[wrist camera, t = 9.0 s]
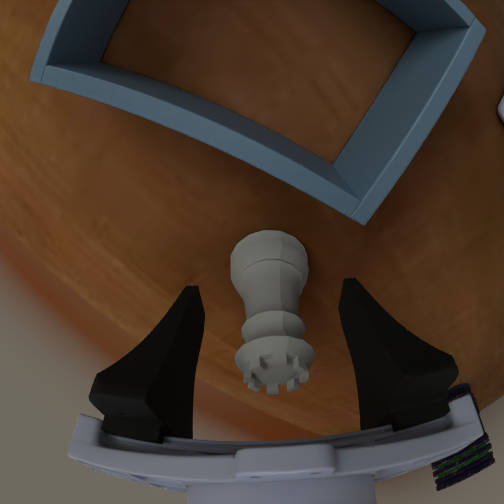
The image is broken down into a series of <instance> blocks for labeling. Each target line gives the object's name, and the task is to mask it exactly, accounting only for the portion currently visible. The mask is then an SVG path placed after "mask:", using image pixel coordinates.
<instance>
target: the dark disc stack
mask: <svg viewBox="0 0 504 504" xmlns="http://www.w3.org/2000/svg"><path fill="white" fill-rule="evenodd" d="M447 392H448V398H446V399H447V402H448V403H449V402H451V401H452V400H455V399H457V398H460V397H462V396H465V395H467V394H470V396H471V398H472V401H473V404H474V406H475V409H476V412H477V415H478V417H479V420H480V423H481V426H482V429H483V435H482V436H480V437H479V438H478V439H476V440H475V441H473V442H472V443H470V444H469V445H467V446H466V447H464V448H463V449H461V450H460V451H458V452H456V453H454V454H452V455H449V456H447V457H445V458H442V459H440V460H438V461H435V462H433V463H431V465H432V469H433V470H434V469H437V470H436V471H434V472H433V476H434V477H437V476H438V478H437V479H435V483H436V484H437V487H436V488H437V491H440V490H442V489H445V488H447V487H450V486H452V485H454V484H456V483H459V482H460V481H462V480H465V479H466V478H469V477H471V476H473V475H474V474H476V473H478V472H480V471H482V470H483V469H485V468H487V467H488V466H490V465H492V464H493V463H494V462H495V459H494V458H493V452H492V451H490V452H488V450H489V449H491V448H492V447H491V443H488V444H486V443H487V442H488V441H489V438H488V437H489V436H488V435H487V433H485V431H484V427H483V424H482V421H481V418H480V416H479V413H480V411H479V408H478V406H477V401H476V398H475V397H473V393H472V392H471V390H470V385H469V384H468V383H465V384H460V385H457V386H455V387H452V388H450V389H448V390H447Z"/></svg>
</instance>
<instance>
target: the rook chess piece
mask: <svg viewBox="0 0 504 504" xmlns="http://www.w3.org/2000/svg"><path fill="white" fill-rule="evenodd" d="M307 262H308V258H307V254H306V251H305V247H304V246H303V245H302V244H301V243H300V242H299V241H298V240H297V239H296V238H295V237H294V236H292V235H289V234H287V233H285V232H282V231H275V230H263V231H259V232H256V233H253V234H249V235H248V236H246V237H245V238H244V239H243V240H241V241H240V242H239V243H237V245H236V247H235V248H234V250H233V252H232V254H231V280H232V283H233V284H234V286H235V288H236V290H237V292H238V293H239V294H240V296H241V298H242V299H243V300H244V305H245V311H246V318H247V320H246V322H245V323H244V325H243V326H242V337H243V339H244V340H245V342H246V343H245V344H243V345H242V346H241V348H240V349H239V350H238V351H237V353H236V354H235V364H236V365H237V367H238V368H239V369H240V371H241V372H242V373H243V374H244V381H243V383H248V388H249V389H251V390H253V391H255V392H257V391H259V390H260V384H263V385H267V394H278V385H282V384H287V390H288V391H289V392H292V391H294V390H297V389H299V388H300V387H299V382H301V383H306V382H307V380H308V378H309V374H308V369H309V368H310V366H311V365H312V363H313V361H314V358H315V353H314V350H313V347H312V346H310V345H309V344H308V343H306V342H305V341H304V340H302V338H303V336H304V333H305V329H306V328H305V325H304V323H303V321H302V320H301V319H300V318H299V313H298V312H299V296H300V294H301V293H302V290H303V288H304V286H305V285H306V281H307V277H308V272H309V267H308V263H307Z"/></svg>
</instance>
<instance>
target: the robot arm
mask: <svg viewBox="0 0 504 504" xmlns="http://www.w3.org/2000/svg"><path fill="white" fill-rule="evenodd" d="M498 114H499V116H500V118H501V119H502V121H503V122H504V96H503V98H502V100H501V102H500V104H499V106H498ZM338 308H339V314H340V320H341V325H342V328H343V332H344V335H345V338H346V341H347V345H348V348H349V351H350V354H351V358H352V361H353V365H354V370H355V376H356V383H357V390H358V398H359V409H360V426H361V431H357V432H352V433H346V434H339V435H332V436H325V437H317V438H308V439H296V440H282V441H254V442H253V441H251V442H240V441H239V442H237V441H236V442H235V441H209V440H195V439H193V422H192V421H193V396H194V382H195V373H196V367H197V362H198V357H199V352H200V347H201V343H202V338H203V333H204V322H205V312H204V308H203V304H202V300H201V296H200V291H199V287H198V286H186V287H185V288H184V289H183V291H182V292H181V294H180V295H179V297H178V298H177V300H176V301H175V302H174V304H173V305H172V307H171V308H170V309H169V311H168V312H167V313H166V315H165V316H164V317H163V318H162V320H161V321H160V322H159V323H158V324H157V326H156V327H155V328H154V329H153V330H152V331H151V333H150V334H149V335H148V336H147V337H146V338H145V339H144V340H143V341H142V342H141V343H140V344H138V345H137V346H136V347H135V348H134V349H133V350H132V351H130V352H129V353H128V354H127V355H125V356H124V357H123V358H121V359H120V360H119V361H117V362H116V363H114V364H113V365H111V366H110V367H108V368H106V369H105V370H103V371H101V372H100V373H98V374H97V375H96V377H95V379H94V382H93V385H92V388H91V391H90V394H89V400H90V402H91V403H92V404H93V405H94V406H95V407H96V408H97V409H98V410H99V411H100V412H101V413H102V414H103V415H105V416H104V420H103V421H102V420H100V419H98V418H95V417H91V416H87V415H83V414H79V416H78V419H77V422H76V425H75V429H74V432H73V435H72V439H71V442H70V446H69V450H68V454H67V455H68V456H69V457H71V458H72V459H74V460H76V461H78V462H80V463H82V464H84V465H85V466H87V467H89V468H91V469H93V470H96V471H99V472H102V473H105V474H108V475H111V476H115V477H119V478H122V479H125V480H129V481H133V482H136V483H140V484H144V485H148V486H153V487H157V488H162V489H166V490H172V491H177V492H183V493H188V497H187V504H376V496H375V489H374V482H378V481H382V480H385V479H388V478H391V477H395V476H398V475H401V474H404V473H406V472H409V471H412V470H415V469H417V468H420V467H423V466H425V465H428V464H430V463H433V462H435V461H438V460H440V459H442V458H445V457H447V456H449V455H452V454H454V453H456V452H458V451H460V450H461V449H463V448H464V447H466V446H467V445H469V444H470V443H472V442H473V441H475V440H476V439H478V438H479V437H480V436H482V435H483V429H482V426H481V423H480V420H479V417H478V415H477V412H476V409H475V406H474V404H473V401H472V398H471V396H470V394H467V395H465V396H462V397H460V398H457V399H455V400H452V401H451V402H449V403H448V402H447V399H446V398H448V392H447V389H448V388H449V387H450V386H451V385H452V383H453V382H454V381H455V380H456V378H457V377H458V374H459V370H458V367H457V365H456V363H455V361H454V359H453V357H452V355H449V354H447V353H445V352H443V351H441V350H439V349H437V348H435V347H433V346H431V345H430V344H428V343H426V342H425V341H423V340H421V339H420V338H418V337H417V336H415V335H414V334H413V333H411V332H410V331H408V330H407V329H406V328H405V327H403V326H402V325H401V324H400V323H398V322H397V321H396V320H395V319H394V318H393V317H392V316H391V315H390V314H388V313H387V312H386V311H385V310H384V309H383V308H382V307H381V306H380V304H379V303H378V302H377V301H376V300H375V299H374V298H373V297H372V296H371V295H370V294H369V293H368V291H367V290H366V289H365V288H364V287H363V286H362V285H361V284H360V282H359V281H358V280H357V279H356V278H346V279H344V281H343V286H342V292H341V297H340V302H339V307H338Z"/></svg>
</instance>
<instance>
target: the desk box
mask: <svg viewBox="0 0 504 504" xmlns="http://www.w3.org/2000/svg"><path fill="white" fill-rule="evenodd" d="M375 1H377V2H378V3H380V4H381V5H382V6H384V7H385V8H386V9H388V10H389V11H390V12H392V13H393V14H394V15H396V16H397V17H398V18H399V19H401V20H402V21H403V22H404V23H406V24H407V25H408V26H409V27H410V28H412V29H413V30H414V31H415V32H417V33H416V35H415V36H414V38H413V40H412V41H411V43H410V45H409V46H408V48H407V49H406V51H405V53H404V54H403V56H402V58H401V59H400V61H399V62H398V64H397V66H396V67H395V69H394V70H393V72H392V74H391V75H390V77H389V78H388V80H387V82H386V83H385V85H384V86H383V88H382V89H381V91H380V93H379V94H378V96H377V97H376V99H375V100H374V102H373V104H372V105H371V107H370V108H369V110H368V111H367V113H366V115H365V116H364V118H363V119H362V121H361V122H360V124H359V125H358V127H357V128H356V130H355V132H354V133H353V135H352V136H351V138H350V139H349V141H348V142H347V144H346V145H345V147H344V148H343V150H342V151H341V153H340V155H339V156H338V158H337V159H336V161H335V162H334V164H333V165H332V164H330V163H329V162H327V161H325V160H324V159H322V158H320V157H319V156H317V155H315V154H314V153H312V152H310V151H308V150H307V149H305V148H303V147H301V146H300V145H298V144H296V143H294V142H292V141H291V140H289V139H287V138H285V137H283V136H281V135H280V134H278V133H276V132H274V131H272V130H270V129H268V128H266V127H264V126H262V125H260V124H258V123H256V122H254V121H252V120H250V119H248V118H246V117H244V116H242V115H240V114H238V113H236V112H233V111H231V110H229V109H227V108H225V107H223V106H220V105H218V104H216V103H213V102H211V101H209V100H207V99H204V98H202V97H199V96H197V95H195V94H192V93H190V92H187V91H185V90H182V89H179V88H177V87H174V86H172V85H169V84H166V83H164V82H161V81H158V80H155V79H152V78H149V77H146V76H143V75H140V74H137V73H134V72H131V71H128V70H125V69H121V68H118V67H115V66H111V65H108V64H104V63H100V61H101V58H102V56H103V53H104V51H105V49H106V46H107V44H108V42H109V39H110V37H111V35H112V33H113V31H114V29H115V27H116V25H117V23H118V21H119V19H120V17H121V15H122V13H123V11H124V9H125V7H126V5H127V4H128V2H129V0H59V1H58V3H57V5H56V7H55V9H54V11H53V13H52V16H51V18H50V20H49V23H48V25H47V27H46V30H45V32H44V35H43V38H42V40H41V43H40V46H39V49H38V52H37V54H36V58H35V61H34V64H33V67H32V70H31V74H30V78H29V81H32V82H36V83H40V84H43V85H46V86H50V87H54V88H57V89H61V90H64V91H67V92H71V93H74V94H77V95H80V96H83V97H86V98H90V99H93V100H96V101H99V102H102V103H104V104H107V105H110V106H113V107H116V108H119V109H122V110H124V111H127V112H130V113H132V114H135V115H138V116H140V117H143V118H146V119H148V120H151V121H153V122H156V123H158V124H161V125H163V126H166V127H168V128H171V129H173V130H175V131H178V132H180V133H183V134H185V135H187V136H190V137H192V138H194V139H196V140H199V141H201V142H203V143H206V144H208V145H210V146H212V147H214V148H217V149H219V150H221V151H223V152H225V153H227V154H230V155H232V156H234V157H236V158H238V159H240V160H242V161H244V162H246V163H248V164H250V165H252V166H255V167H257V168H259V169H261V170H263V171H265V172H267V173H269V174H270V175H272V176H274V177H276V178H278V179H280V180H282V181H284V182H286V183H288V184H290V185H292V186H294V187H295V188H297V189H299V190H301V191H303V192H305V193H307V194H308V195H310V196H312V197H314V198H316V199H317V200H319V201H321V202H323V203H325V204H326V205H328V206H330V207H332V208H333V209H335V210H337V211H339V212H340V213H342V214H344V215H345V216H347V217H350V218H351V219H353V220H354V221H356V222H358V223H359V224H361V225H365V224H366V223H367V222H368V221H369V219H370V218H371V217H372V215H373V214H374V213H375V211H376V210H377V209H378V207H379V206H380V204H381V203H382V202H383V200H384V199H385V198H386V196H387V195H388V193H389V192H390V191H391V189H392V188H393V187H394V185H395V184H396V182H397V181H398V179H399V178H400V177H401V175H402V174H403V172H404V171H405V169H406V168H407V166H408V165H409V164H410V162H411V161H412V159H413V158H414V156H415V155H416V153H417V152H418V150H419V149H420V147H421V146H422V144H423V142H424V141H425V139H426V138H427V136H428V135H429V133H430V132H431V130H432V128H433V127H434V125H435V124H436V122H437V120H438V119H439V117H440V116H441V114H442V112H443V111H444V109H445V107H446V106H447V104H448V102H449V101H450V99H451V97H452V95H453V94H454V92H455V90H456V88H457V87H458V85H459V83H460V81H461V79H462V78H463V76H464V74H465V72H466V70H467V68H468V67H469V65H470V63H471V61H472V59H473V57H474V55H475V53H476V51H477V49H478V47H479V45H480V43H481V41H482V39H483V37H484V35H485V33H486V29H485V28H484V27H483V26H482V24H481V23H480V22H479V21H478V20H477V19H476V18H475V16H474V15H473V14H472V12H471V11H470V10H469V9H468V8H467V7H466V6H465V5H464V4H463V3H462V2H461V1H460V0H375Z"/></svg>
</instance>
